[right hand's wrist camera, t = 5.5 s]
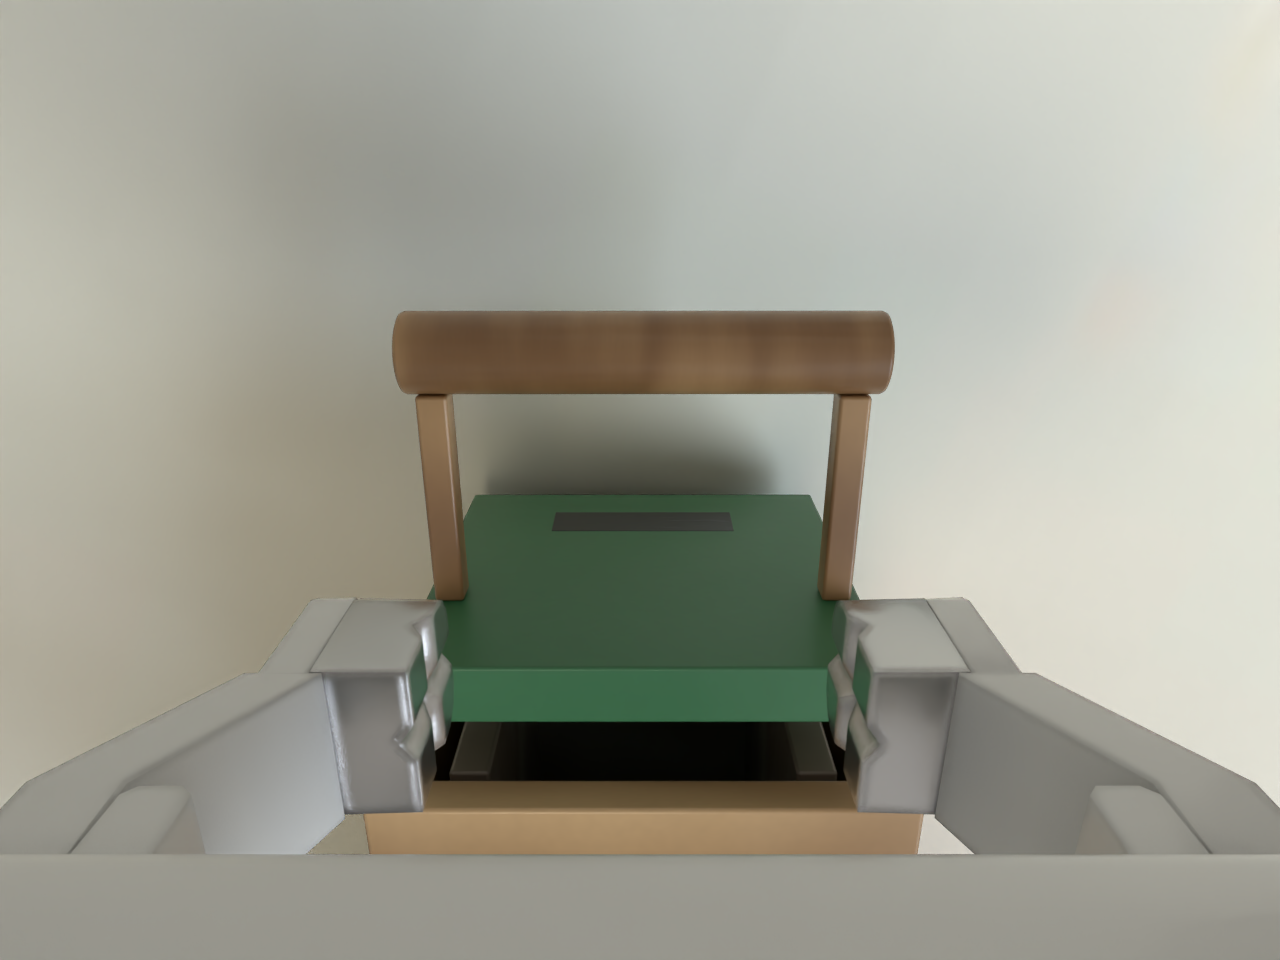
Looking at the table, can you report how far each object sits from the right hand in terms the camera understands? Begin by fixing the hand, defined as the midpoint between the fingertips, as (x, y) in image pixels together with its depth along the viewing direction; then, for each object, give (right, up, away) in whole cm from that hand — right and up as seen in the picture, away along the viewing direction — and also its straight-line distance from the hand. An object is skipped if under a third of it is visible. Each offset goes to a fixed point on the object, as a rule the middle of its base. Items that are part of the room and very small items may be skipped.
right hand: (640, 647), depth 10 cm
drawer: (0, -3, +14) cm, 14 cm away
